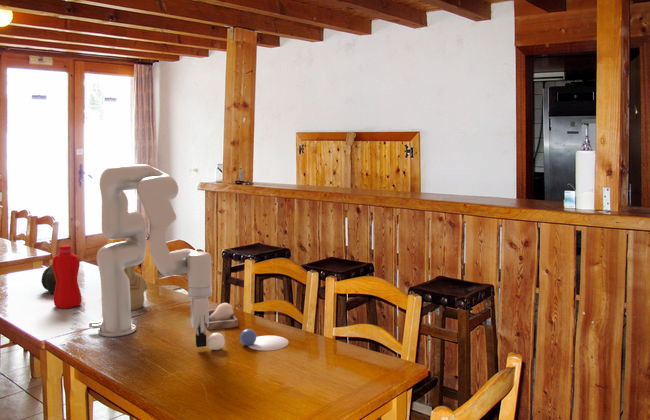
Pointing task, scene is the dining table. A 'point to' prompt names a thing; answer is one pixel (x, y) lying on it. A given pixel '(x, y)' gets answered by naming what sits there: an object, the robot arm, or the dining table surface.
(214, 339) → the cue ball
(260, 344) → the white round disc
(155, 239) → the robot arm
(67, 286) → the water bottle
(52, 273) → the squash
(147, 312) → the dining table surface
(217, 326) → the brown wooden tray
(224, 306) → the light bulb
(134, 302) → the ceramic vessel
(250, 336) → the object ball
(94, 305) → the dining table surface
